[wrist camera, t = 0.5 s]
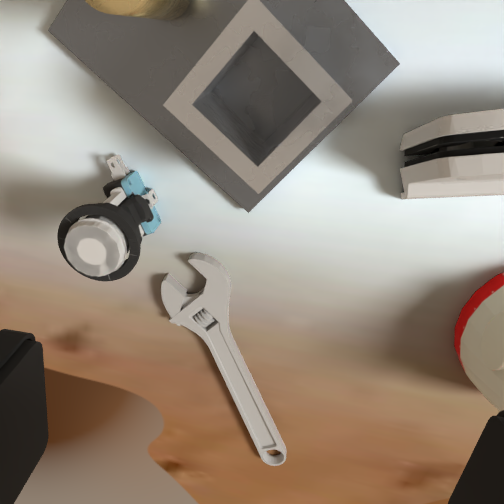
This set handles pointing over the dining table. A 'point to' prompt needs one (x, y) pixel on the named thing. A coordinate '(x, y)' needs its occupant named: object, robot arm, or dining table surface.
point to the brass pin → (142, 8)
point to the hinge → (455, 156)
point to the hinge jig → (235, 79)
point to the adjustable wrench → (223, 347)
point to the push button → (110, 227)
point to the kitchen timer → (484, 340)
